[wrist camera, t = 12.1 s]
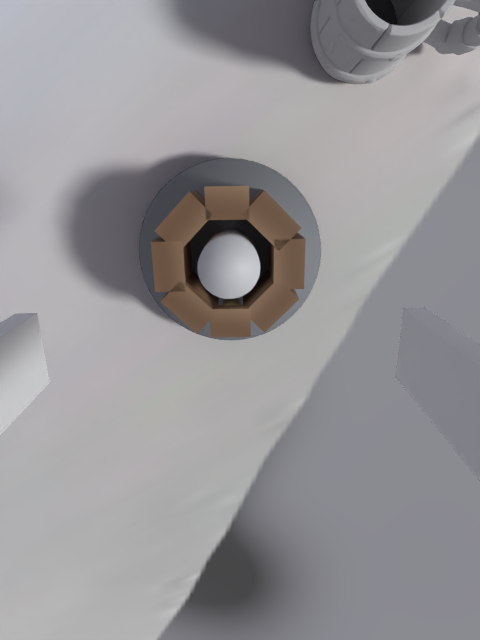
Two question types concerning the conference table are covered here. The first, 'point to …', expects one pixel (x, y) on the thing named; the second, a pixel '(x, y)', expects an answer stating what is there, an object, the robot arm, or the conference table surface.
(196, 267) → the flange base
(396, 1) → the mug
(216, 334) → the collar
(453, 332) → the robot arm
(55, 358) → the conference table surface
